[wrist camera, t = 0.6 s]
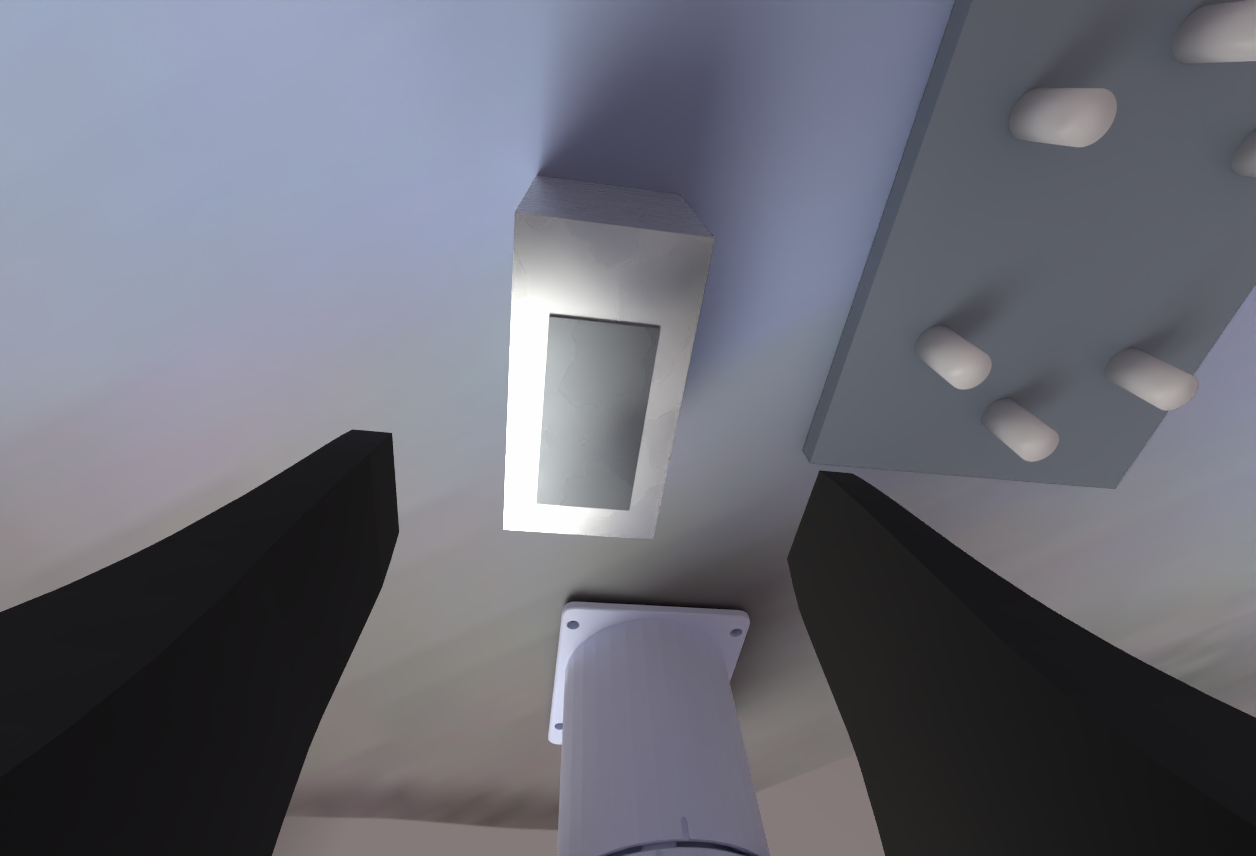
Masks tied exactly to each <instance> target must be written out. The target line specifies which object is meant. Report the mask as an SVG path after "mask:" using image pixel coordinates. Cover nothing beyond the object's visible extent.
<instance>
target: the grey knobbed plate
mask: <svg viewBox="0 0 1256 856" xmlns="http://www.w3.org/2000/svg"><path fill="white" fill-rule="evenodd" d="M1255 284H1256V0H956V1H955V4H954V6H953V9H952V12H951V15H950V18H949V21H948V24H947V27H946V30H945V33H944V36H943V39H942V42H941V45H940V48H939V51H938V54H937V56H936V59H935V62H934V65H933V68H932V71H931V74H930V77H929V80H928V83H927V86H926V89H925V92H924V95H923V98H922V101H921V104H920V107H919V109H918V112H917V115H916V118H915V121H914V124H913V127H912V130H911V133H910V136H909V139H908V142H907V145H906V148H905V151H904V154H903V157H902V159H901V162H900V165H899V168H898V171H897V174H896V177H895V180H894V183H893V186H892V189H891V192H890V195H889V198H888V201H887V204H886V207H885V210H884V212H883V215H882V218H881V221H880V224H879V227H878V230H877V233H876V236H875V239H874V242H873V245H872V248H871V251H870V254H869V257H868V260H867V262H866V265H865V268H864V271H863V274H862V277H861V280H860V283H859V286H858V289H857V292H856V295H855V298H854V301H853V304H852V307H851V310H850V313H849V315H848V318H847V321H846V324H845V327H844V330H843V333H842V336H841V339H840V342H839V345H838V348H837V351H836V354H835V357H834V360H833V363H832V365H831V368H830V371H829V374H828V377H827V380H826V383H825V386H824V389H823V392H822V395H821V398H820V401H819V404H818V407H817V410H816V413H815V416H814V418H813V421H812V424H811V427H810V430H809V433H808V436H807V439H806V442H805V445H804V448H803V453H804V454H805V456H806V458H807V459H808V461H809V463H814V464H825V465H837V466H849V467H861V468H873V469H885V470H896V471H908V472H920V473H932V474H944V475H955V476H967V477H979V478H991V479H1003V480H1015V481H1026V482H1038V483H1050V484H1062V485H1074V486H1086V487H1097V488H1109V489H1115V488H1116V487H1117V485H1118V484H1119V482H1120V481H1121V480H1122V478H1123V477H1124V475H1125V474H1126V472H1127V471H1128V469H1129V468H1130V466H1131V465H1132V463H1133V462H1134V461H1135V459H1136V458H1137V456H1138V455H1139V453H1140V452H1141V450H1142V449H1143V447H1144V446H1145V445H1146V443H1147V442H1148V440H1149V439H1150V437H1151V436H1152V434H1153V433H1154V431H1155V430H1156V429H1157V427H1158V426H1159V424H1160V423H1161V421H1162V420H1163V418H1164V417H1165V415H1166V414H1167V413H1168V411H1169V410H1174V409H1177V408H1179V407H1181V406H1183V405H1184V404H1186V403H1187V402H1188V401H1189V400H1191V399H1192V397H1193V396H1194V395H1195V393H1196V391H1197V389H1198V380H1197V378H1196V377H1194V376H1193V375H1194V373H1195V372H1196V370H1197V369H1198V367H1199V366H1200V364H1201V363H1202V362H1203V360H1204V359H1205V357H1206V356H1207V354H1208V353H1209V351H1210V350H1211V348H1212V347H1213V346H1214V344H1215V343H1216V341H1217V340H1218V338H1219V337H1220V335H1221V334H1222V332H1223V331H1224V330H1225V328H1226V327H1227V325H1228V324H1229V322H1230V321H1231V319H1232V318H1233V316H1234V315H1235V314H1236V312H1237V311H1238V309H1239V308H1240V306H1241V305H1242V303H1243V302H1244V300H1245V299H1246V298H1247V296H1248V295H1249V293H1250V292H1251V290H1252V289H1253V287H1254V286H1255Z"/></svg>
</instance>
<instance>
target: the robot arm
mask: <svg viewBox="0 0 1256 856" xmlns="http://www.w3.org/2000/svg"><path fill="white" fill-rule="evenodd" d="M398 534H399V524H398V510H397V496H396V483H395V469H394V455H393V441H392V433H386V432H374V431H363V430H351V431H349V432H347V433H345V434H343V435H341V436H340V437H338V438H336V439H335V440H333V441H331V442H330V443H328V444H326V445H325V446H323V447H322V448H320V449H318V450H317V451H315V452H314V453H312V454H310V455H309V456H307V457H306V458H304V459H302V460H301V461H299V462H298V463H296V464H294V465H293V466H291V467H290V468H288V469H286V470H285V471H283V472H281V473H280V474H278V475H276V476H275V477H273V478H271V479H270V480H268V481H267V482H265V483H263V484H262V485H260V486H258V487H257V488H255V489H253V490H252V491H250V492H248V493H247V494H245V495H243V496H242V497H240V498H238V499H236V500H234V501H233V502H231V503H229V504H227V505H225V506H224V507H222V508H220V509H218V510H216V511H215V512H213V513H211V514H209V515H207V516H205V517H204V518H202V519H200V520H198V521H196V522H195V523H193V524H191V525H189V526H187V527H186V528H184V529H182V530H180V531H178V532H177V533H175V534H173V535H171V536H169V537H167V538H165V539H163V540H161V541H159V542H157V543H155V544H153V545H151V546H149V547H147V548H145V549H143V550H141V551H139V552H137V553H135V554H133V555H131V556H129V557H127V558H125V559H123V560H120V561H118V562H116V563H114V564H112V565H110V566H107V567H105V568H103V569H101V570H99V571H97V572H95V573H92V574H90V575H88V576H86V577H84V578H82V579H79V580H77V581H75V582H73V583H70V584H68V585H66V586H63V587H61V588H59V589H57V590H54V591H52V592H49V593H47V594H44V595H42V596H39V597H37V598H34V599H32V600H29V601H27V602H24V603H22V604H20V605H17V606H15V607H12V608H10V609H7V610H5V611H2V612H0V856H272V853H273V850H274V847H275V844H276V841H277V838H278V835H279V832H280V829H281V826H282V823H283V820H284V817H285V815H286V812H287V809H288V806H289V803H290V800H291V798H292V795H293V792H294V789H295V786H296V783H297V781H298V778H299V775H300V772H301V769H302V766H303V764H304V761H305V758H306V755H307V752H308V750H309V747H310V745H311V742H312V740H313V737H314V735H315V733H316V730H317V728H318V725H319V723H320V721H321V718H322V716H323V714H324V712H325V709H326V707H327V705H328V703H329V701H330V699H331V697H332V694H333V692H334V690H335V688H336V686H337V684H338V682H339V679H340V677H341V675H342V673H343V671H344V669H345V666H346V664H347V662H348V660H349V658H350V656H351V654H352V651H353V649H354V647H355V645H356V643H357V641H358V639H359V636H360V634H361V632H362V630H363V628H364V626H365V623H366V621H367V619H368V617H369V615H370V613H371V610H372V608H373V606H374V604H375V602H376V599H377V597H378V595H379V593H380V590H381V588H382V586H383V583H384V579H385V576H386V573H387V570H388V567H389V564H390V561H391V558H392V554H393V551H394V547H395V544H396V541H397V537H398ZM787 560H788V565H789V569H790V574H791V578H792V583H793V587H794V591H795V595H796V598H797V602H798V606H799V610H800V613H801V615H802V618H803V621H804V623H805V626H806V629H807V631H808V634H809V636H810V639H811V641H812V644H813V646H814V649H815V652H816V654H817V657H818V659H819V662H820V664H821V666H822V669H823V671H824V674H825V676H826V679H827V681H828V684H829V686H830V689H831V691H832V694H833V696H834V699H835V701H836V704H837V706H838V709H839V711H840V714H841V716H842V719H843V721H844V724H845V726H846V729H847V731H848V734H849V736H850V739H851V742H852V745H853V748H854V750H855V753H856V756H857V759H858V762H859V765H860V768H861V772H862V775H863V778H864V782H865V785H866V788H867V792H868V796H869V799H870V802H871V806H872V809H873V812H874V816H875V820H876V823H877V826H878V830H879V834H880V838H881V841H882V845H883V849H884V852H885V856H1256V718H1255V717H1253V716H1251V715H1249V714H1247V713H1245V712H1242V711H1240V710H1238V709H1236V708H1234V707H1232V706H1230V705H1228V704H1226V703H1224V702H1221V701H1219V700H1217V699H1215V698H1213V697H1211V696H1209V695H1207V694H1205V693H1203V692H1201V691H1199V690H1197V689H1195V688H1193V687H1191V686H1189V685H1187V684H1185V683H1184V682H1182V681H1180V680H1178V679H1176V678H1174V677H1172V676H1170V675H1168V674H1166V673H1164V672H1162V671H1160V670H1158V669H1156V668H1154V667H1152V666H1150V665H1148V664H1146V663H1144V662H1143V661H1141V660H1139V659H1137V658H1135V657H1133V656H1132V655H1130V654H1128V653H1126V652H1124V651H1122V650H1121V649H1119V648H1117V647H1115V646H1113V645H1111V644H1110V643H1108V642H1106V641H1104V640H1103V639H1101V638H1099V637H1098V636H1096V635H1094V634H1092V633H1091V632H1089V631H1087V630H1086V629H1084V628H1082V627H1080V626H1079V625H1077V624H1075V623H1074V622H1072V621H1070V620H1068V619H1067V618H1065V617H1063V616H1062V615H1060V614H1058V613H1056V612H1055V611H1053V610H1052V609H1050V608H1048V607H1047V606H1045V605H1044V604H1042V603H1040V602H1039V601H1037V600H1035V599H1034V598H1032V597H1031V596H1029V595H1028V594H1026V593H1025V592H1023V591H1022V590H1020V589H1019V588H1017V587H1016V586H1014V585H1013V584H1011V583H1010V582H1008V581H1007V580H1005V579H1003V578H1002V577H1000V576H999V575H997V574H996V573H994V572H993V571H991V570H990V569H988V568H987V567H986V566H984V565H983V564H981V563H980V562H978V561H977V560H975V559H974V558H973V557H971V556H970V555H968V554H967V553H965V552H964V551H963V550H961V549H960V548H958V547H957V546H956V545H954V544H953V543H951V542H950V541H949V540H947V539H946V538H944V537H943V536H942V535H940V534H939V533H937V532H936V531H935V530H933V529H932V528H931V527H929V526H928V525H926V524H925V523H924V522H922V521H921V520H920V519H918V518H917V517H916V516H914V515H913V514H911V513H910V512H909V511H907V510H906V509H905V508H903V507H902V506H900V505H899V504H898V503H896V502H895V501H894V500H892V499H891V498H889V497H888V496H886V495H885V494H884V493H882V492H881V491H879V490H878V489H876V488H875V487H873V486H872V485H871V484H869V483H867V482H866V481H864V480H863V479H861V478H859V477H858V476H856V475H854V474H852V473H840V472H829V471H819V473H818V476H817V479H816V482H815V484H814V487H813V490H812V492H811V495H810V498H809V501H808V503H807V506H806V509H805V512H804V514H803V517H802V520H801V522H800V525H799V528H798V531H797V533H796V536H795V539H794V541H793V544H792V547H791V550H790V552H789V555H788V558H787ZM571 621H576V622H571ZM749 626H750V619H749V616H748V614H747V613H746V612H744V611H741V610H727V609H708V608H689V607H670V606H651V605H632V604H613V603H594V602H569V603H567V604H566V605H564V606H563V609H562V617H561V626H560V634H559V643H558V652H557V661H556V670H555V679H554V688H553V697H552V706H551V715H550V724H549V734H548V739H549V741H550V742H552V743H554V744H562V754H561V778H560V802H559V825H558V851H557V856H770V852H769V848H768V843H767V839H766V835H765V831H764V826H763V822H762V818H761V813H760V809H759V805H758V801H757V796H756V792H755V788H754V784H753V779H752V775H751V771H750V767H749V762H748V758H747V754H746V749H745V745H744V741H743V737H742V732H741V728H740V724H739V720H738V715H737V711H736V707H735V703H734V698H733V694H732V690H731V685H730V680H731V677H732V675H733V672H734V669H735V666H736V663H737V660H738V657H739V654H740V652H741V649H742V646H743V643H744V640H745V637H746V634H747V631H748V629H749ZM733 629H734V630H733Z"/></svg>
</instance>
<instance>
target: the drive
mask: <svg viewBox="0 0 1256 856" xmlns="http://www.w3.org/2000/svg"><path fill="white" fill-rule="evenodd" d="M714 241H715V237H714V236H713V235H712V234H711V232H710V231H709V230H708V229H707V228H706V226H705V225H704V224H703V223H702V221H701V220H700V219H699V218H698V216H697V215H696V214H695V213H694V212H693V210H692V209H691V208H690V207H689V205H688V204H687V203H686V202H685V201H684V199H683V198H682V197H681V196H680V195H678V194H671V193H664V192H656V191H649V190H642V189H635V188H627V187H620V186H613V185H606V184H598V183H591V182H584V181H576V180H569V179H562V178H555V177H547V176H540V175H537V176H536V177H535V179H534V181H533V182H532V184H531V186H530V187H529V189H528V191H527V192H526V194H525V196H524V197H523V199H522V201H521V203H520V204H519V206H518V208H517V209H516V211H515V221H514V248H513V276H512V304H511V331H510V359H509V386H508V414H507V442H506V469H505V497H504V524H503V530H518V531H533V532H548V533H563V534H578V535H593V536H608V537H623V538H638V539H653V538H654V533H655V528H656V524H657V519H658V514H659V509H660V504H661V499H662V494H663V490H664V485H665V480H666V475H667V470H668V465H669V460H670V455H671V451H672V446H673V441H674V436H675V431H676V426H677V421H678V417H679V412H680V407H681V402H682V397H683V392H684V387H685V382H686V378H687V373H688V368H689V363H690V358H691V353H692V348H693V344H694V339H695V334H696V329H697V324H698V319H699V314H700V310H701V305H702V300H703V295H704V290H705V285H706V280H707V275H708V271H709V266H710V261H711V256H712V251H713V246H714Z"/></svg>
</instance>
